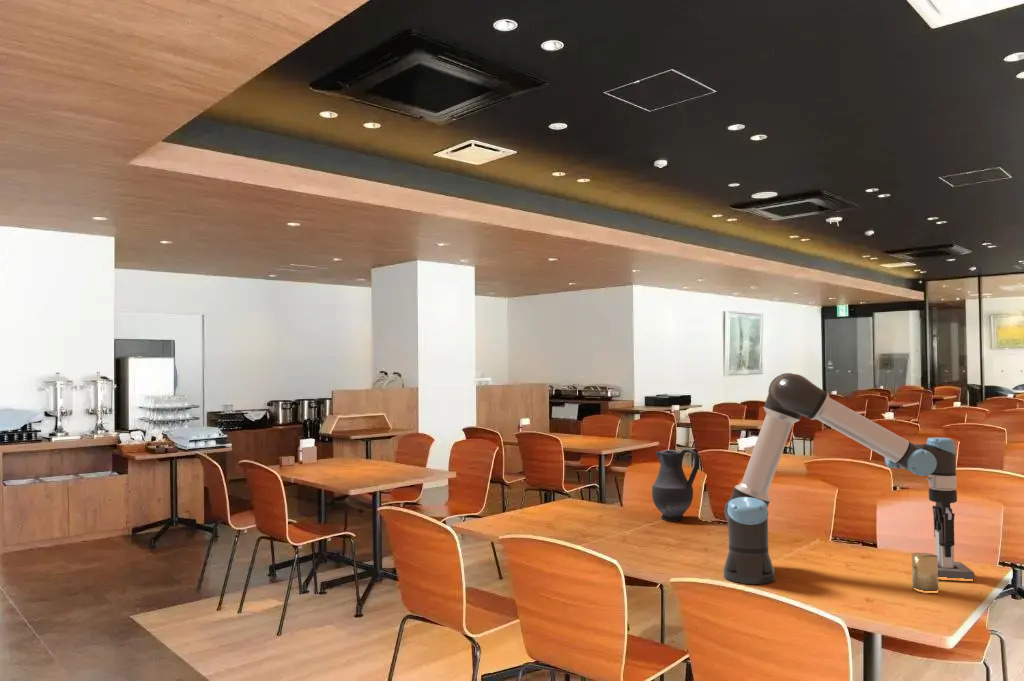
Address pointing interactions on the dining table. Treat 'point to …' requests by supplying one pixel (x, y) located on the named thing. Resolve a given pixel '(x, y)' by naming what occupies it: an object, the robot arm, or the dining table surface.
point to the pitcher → (673, 484)
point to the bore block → (956, 571)
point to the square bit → (938, 548)
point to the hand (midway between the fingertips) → (944, 565)
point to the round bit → (925, 571)
